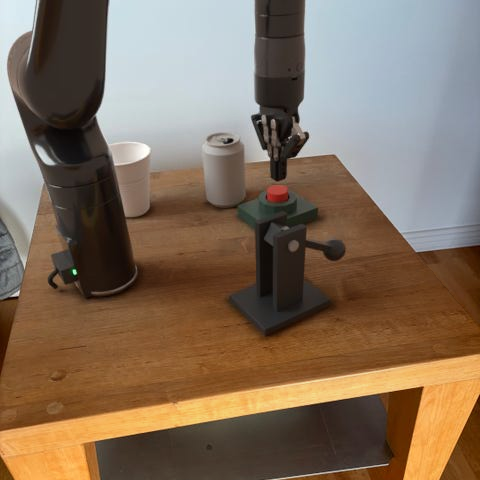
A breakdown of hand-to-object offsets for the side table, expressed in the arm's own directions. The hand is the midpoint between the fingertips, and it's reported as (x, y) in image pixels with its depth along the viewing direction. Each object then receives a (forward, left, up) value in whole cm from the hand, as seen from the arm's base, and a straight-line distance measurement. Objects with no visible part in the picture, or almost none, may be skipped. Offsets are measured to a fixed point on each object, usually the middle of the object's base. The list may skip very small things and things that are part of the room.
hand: (278, 179), depth 84 cm
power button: (0, 0, -4) cm, 4 cm away
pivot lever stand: (-14, -20, -7) cm, 26 cm away
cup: (-20, +18, -7) cm, 28 cm away
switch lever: (-10, -20, 0) cm, 22 cm away
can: (-4, +11, -7) cm, 14 cm away
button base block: (0, 0, -7) cm, 7 cm away
